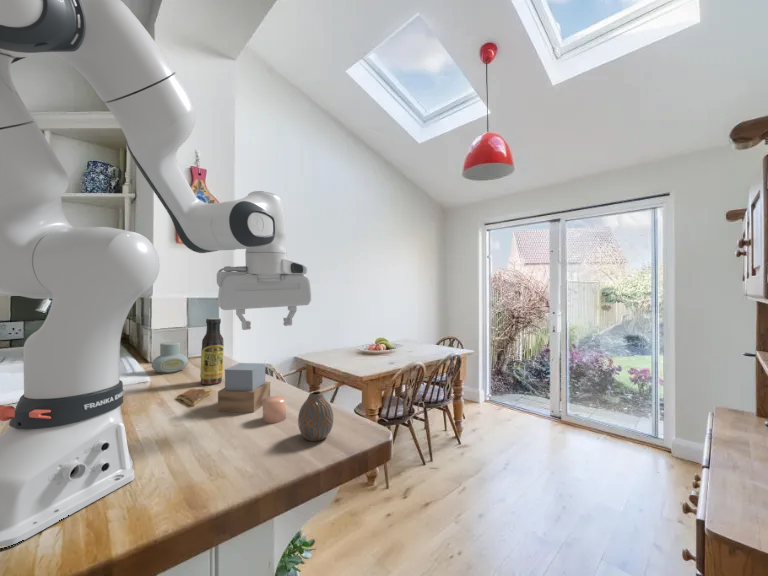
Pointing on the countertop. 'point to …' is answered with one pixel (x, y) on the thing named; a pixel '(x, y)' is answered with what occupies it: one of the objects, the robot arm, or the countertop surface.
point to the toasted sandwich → (194, 396)
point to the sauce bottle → (212, 353)
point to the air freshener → (169, 358)
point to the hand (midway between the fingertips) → (267, 327)
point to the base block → (243, 399)
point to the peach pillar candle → (274, 409)
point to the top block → (245, 376)
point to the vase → (315, 417)
